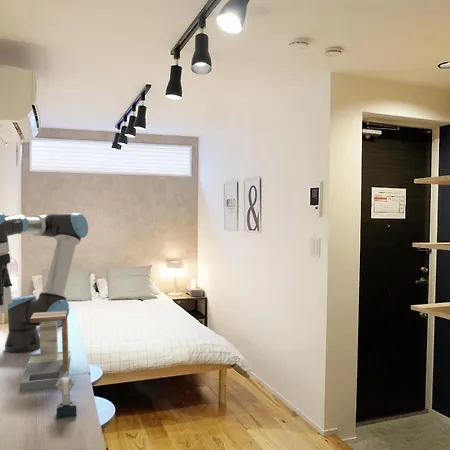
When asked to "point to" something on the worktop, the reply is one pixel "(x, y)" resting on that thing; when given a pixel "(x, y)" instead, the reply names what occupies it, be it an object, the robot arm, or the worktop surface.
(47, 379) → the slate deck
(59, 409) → the watch
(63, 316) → the walnut tunnel
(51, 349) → the cream block
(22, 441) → the worktop surface
